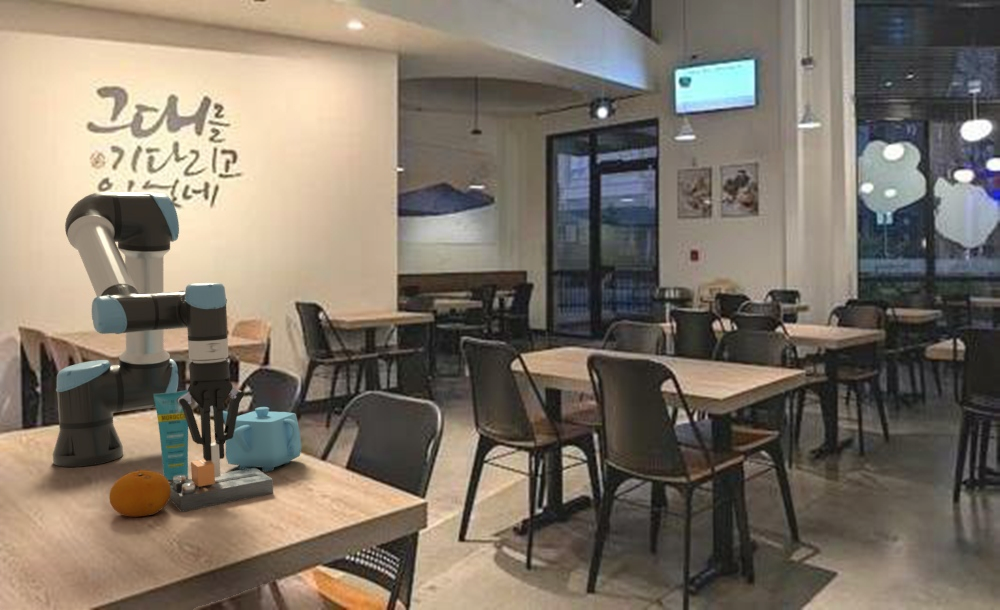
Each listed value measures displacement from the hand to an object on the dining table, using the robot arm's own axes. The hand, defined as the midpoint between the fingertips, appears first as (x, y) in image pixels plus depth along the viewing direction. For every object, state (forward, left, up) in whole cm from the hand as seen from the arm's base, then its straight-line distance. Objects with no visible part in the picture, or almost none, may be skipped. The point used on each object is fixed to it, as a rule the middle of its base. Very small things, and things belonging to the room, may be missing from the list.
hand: (214, 475), depth 163 cm
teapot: (-18, +15, -5) cm, 24 cm away
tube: (-19, -3, -5) cm, 20 cm away
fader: (0, -2, -1) cm, 3 cm away
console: (0, +1, -4) cm, 5 cm away
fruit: (+2, -14, -5) cm, 15 cm away
